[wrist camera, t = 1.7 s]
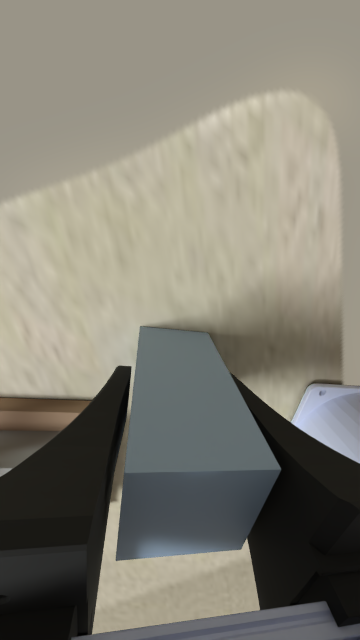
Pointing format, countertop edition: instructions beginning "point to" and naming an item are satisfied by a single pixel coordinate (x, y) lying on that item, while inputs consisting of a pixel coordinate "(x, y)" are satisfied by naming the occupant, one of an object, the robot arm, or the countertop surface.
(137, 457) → the peg
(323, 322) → the countertop surface
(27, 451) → the socket board
